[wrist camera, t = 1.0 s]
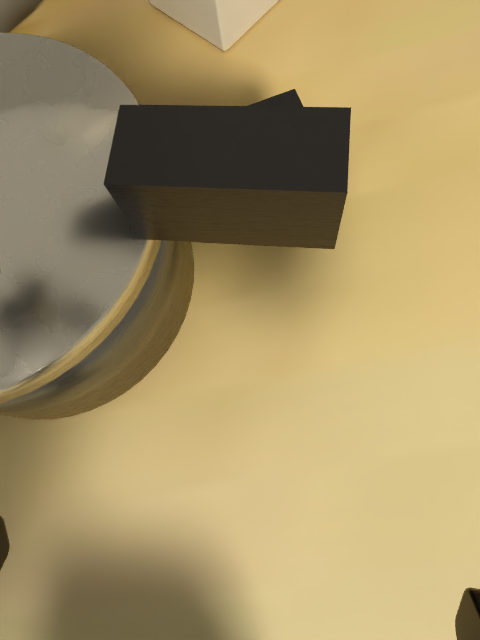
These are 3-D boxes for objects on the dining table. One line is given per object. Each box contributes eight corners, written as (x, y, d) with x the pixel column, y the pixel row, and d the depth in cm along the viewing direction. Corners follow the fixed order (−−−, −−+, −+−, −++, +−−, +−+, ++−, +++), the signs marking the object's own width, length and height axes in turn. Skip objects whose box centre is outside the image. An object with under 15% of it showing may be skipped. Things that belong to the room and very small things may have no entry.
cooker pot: (-104, 480, 24) (-252, 490, 18) (-130, 226, 29) (-255, 158, 22) (356, 313, 24) (382, 260, 18) (254, 87, 29) (245, -22, 22)
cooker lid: (-267, 392, 18) (-466, 370, 14) (-134, 60, 23) (-247, -47, 18) (320, 454, 16) (336, 453, 11) (341, 60, 20) (358, -66, 15)
